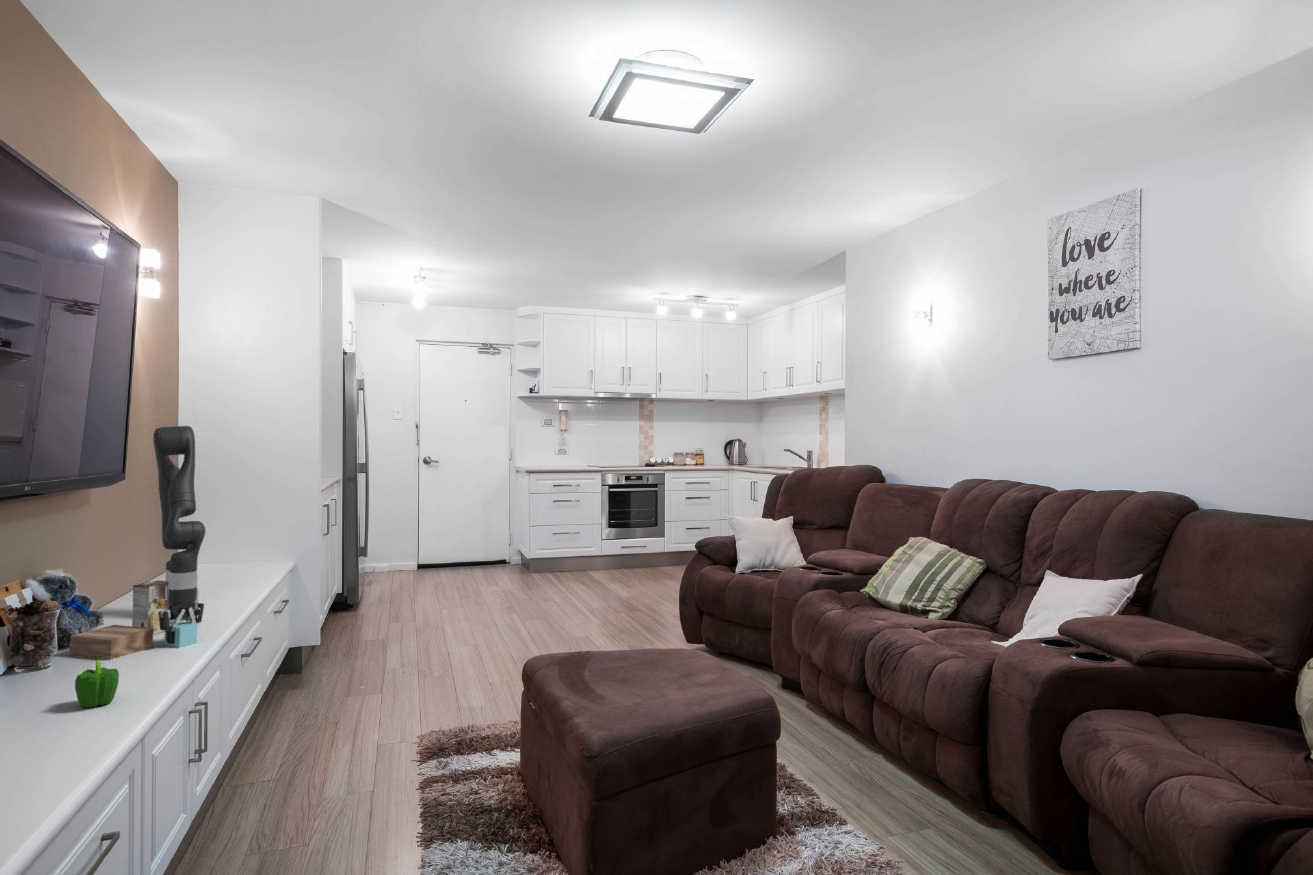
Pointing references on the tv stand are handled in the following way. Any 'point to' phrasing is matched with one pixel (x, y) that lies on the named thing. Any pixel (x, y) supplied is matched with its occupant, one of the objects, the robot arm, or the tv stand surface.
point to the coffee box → (149, 604)
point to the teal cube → (183, 635)
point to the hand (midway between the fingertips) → (180, 640)
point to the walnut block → (111, 642)
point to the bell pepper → (96, 686)
